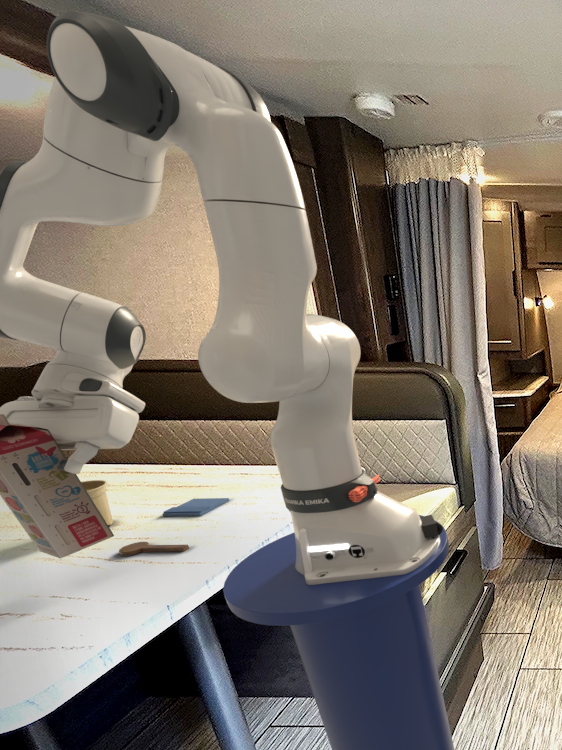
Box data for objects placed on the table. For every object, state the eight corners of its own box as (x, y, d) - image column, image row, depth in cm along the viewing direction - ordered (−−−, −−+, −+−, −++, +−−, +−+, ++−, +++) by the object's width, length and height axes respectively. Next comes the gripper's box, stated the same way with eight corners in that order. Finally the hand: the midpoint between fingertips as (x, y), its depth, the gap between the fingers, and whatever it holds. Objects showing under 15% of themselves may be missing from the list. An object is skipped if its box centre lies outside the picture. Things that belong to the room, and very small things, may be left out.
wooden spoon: (195, 544, 93) (194, 540, 93) (177, 555, 90) (175, 551, 89) (135, 545, 94) (133, 541, 93) (114, 556, 90) (112, 552, 89)
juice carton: (93, 529, 84) (13, 404, 75) (114, 536, 82) (34, 407, 72) (39, 551, 79) (-55, 418, 69) (60, 558, 76) (-34, 422, 67)
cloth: (229, 500, 113) (228, 496, 112) (200, 515, 105) (199, 512, 105) (194, 501, 113) (193, 497, 112) (163, 516, 105) (161, 512, 105)
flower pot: (45, 535, 98) (24, 495, 95) (105, 515, 106) (88, 477, 103) (76, 542, 95) (55, 500, 92) (135, 520, 104) (118, 482, 100)
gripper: (-11, 386, 78) (-58, 466, 73) (119, 382, 78) (81, 462, 72) (35, 407, 84) (-5, 483, 78) (156, 404, 84) (123, 479, 78)
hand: (37, 473), depth 75 cm, fingers closed on juice carton, 8 cm apart
